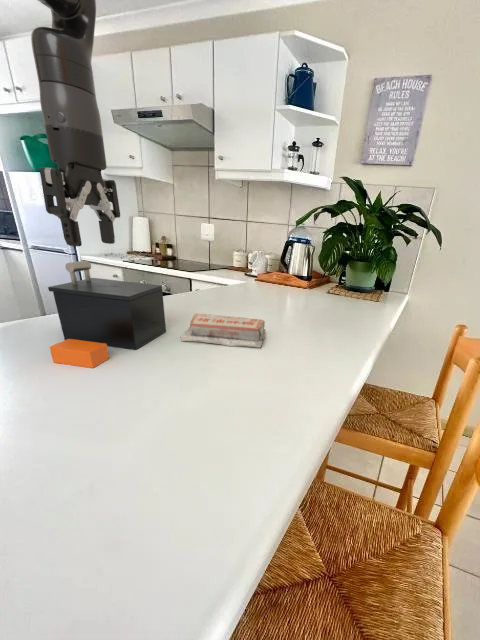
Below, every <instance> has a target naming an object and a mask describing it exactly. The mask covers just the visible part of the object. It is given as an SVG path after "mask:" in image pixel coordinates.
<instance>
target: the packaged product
mask: <svg viewBox="0 0 480 640" xmlns="http://www.w3.org/2000/svg"><path fill="white" fill-rule="evenodd" d="M265 326H266V325H265V320H264V319H259V318H247V317H241V316H240V317H239V316H228V315H219V314H208V313H194V314H193V315H192V318H191V320H190V323H189V327H188V328H187V329H186V330H185V331H183V333H182V334H181V335H180V337H179V338H180V341H181V342H196V343H197V342H198V343H206V344H207V343H208V344H216V345H222V346H227V347H235V346H237V347H247V348H261V347H262V345H263V343H264V339H265V337H266V333H267V331H266V329H265Z"/></svg>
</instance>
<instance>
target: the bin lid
mask: <svg viewBox="0 0 480 640" xmlns="http://www.w3.org/2000/svg"><path fill="white" fill-rule="evenodd" d="M91 268H92V263H91V262H90V261H88V260H80V261H72V262H67V263H65V270H66V271H67V273H69V276H70V281H71V282H66V283H61V284H57V285H51V286H48V287H47V288H48V292H52V293H53V292H60V293H68V294H76V295H85V296H93V297H102V298H110V299H118V300H127V301H130V300H133V299H136V298H139V297H141V296H144V295H147V294H150V293H153V292H156V291H158V290H161V289H162V290H163V285H161V284H151V283H142V282H134V281H125V280H118V279H117V280H116V279H109V278H108V279H107V278H99V277H91V273H90V272H91V271H90V270H91ZM78 272H84V277H85V279H80V280H78V279H77V274H76V273H78Z"/></svg>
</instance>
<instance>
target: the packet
mask: <svg viewBox="0 0 480 640" xmlns="http://www.w3.org/2000/svg"><path fill="white" fill-rule="evenodd" d="M49 351H50V354H51V358H52V359H51V360H52V362H53V363H54V364H61V365H69V366H74V367H75V366H76V367H83V368H90V369H94V368H96V367H98V366H99V365H101V364H103V363H104V362H106V361H108V360H110V354H109V349H108V346H107V344H105V343H98V342H90V341H82V340H75V339H67V340H65V339H64V340H61V341H60V342H57V343H55V344H53V345H50V346H49Z"/></svg>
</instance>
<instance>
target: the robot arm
mask: <svg viewBox="0 0 480 640" xmlns="http://www.w3.org/2000/svg"><path fill="white" fill-rule="evenodd" d="M37 1H38V2H39V3H40V4H42V5H43V6H45V7H46V8H48V9H50V13H51V27H50V26H37V27H35V28H34V29H32V32H31V35H30V36H31V37H30V41H31V49H32V54H33V59H34V65H35V70H36V75H37V81H38V88H39V102H40V108H41V114H42V119H43V124H44V129H45V135H46V140H47V146H48V151H49V156H50V160H52V162H53V163H56V165H57V168H53V167H44V166H43V167H40V168H39V176H40V182H41V187H42V188H41V189H42V192H43V193H42V194H43V200H44V207H45V211H46V212H47V213H48V214H49V215H54V216H55V217H57V218H58V219H59V220H60V224H61V230H62V234H63V239H64V241H65V243H66V244H67V246H70V247H82V243H83V242H82V237H81V231H80V226H79V221H77V219H78V215H79V212H80V210H82V209H84V206H88V207H89V208H90V209H91V210H93V211H94V213H95V215H96V216H97V218H98V227H99V233H100V240H101V242H102V243H103V244H109V245H112V244H115V243H116V239H115V237H116V236H115V230H114V222H115V220H116V219H117V218H118V219H120V218H121V210H120V205H119V204H120V203H119V196H118V190H117V183H116V181H115V180H114V179H105V178H103V176H102V171H105V170H106V169H107V168H108V167H107V159H106V158H107V157H106V152H105V144H104V136H103V129H102V120H101V114H100V113H101V112H100V109H99V106H98V102H97V93H96V86H95V79H94V78H95V77H94V71H93V66H92V58H93V53H94V51H93V50H94V42H95V30H96V21H97V20H96V19H97V1H96V0H37ZM54 197H55V199H54ZM55 200H56V205H55ZM111 207H112V209H111Z"/></svg>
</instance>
